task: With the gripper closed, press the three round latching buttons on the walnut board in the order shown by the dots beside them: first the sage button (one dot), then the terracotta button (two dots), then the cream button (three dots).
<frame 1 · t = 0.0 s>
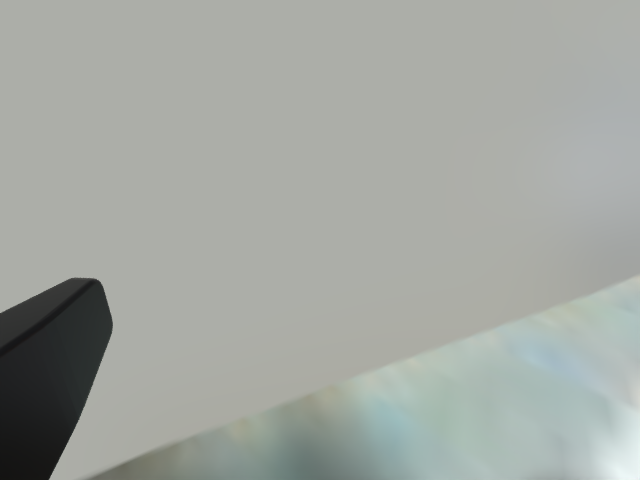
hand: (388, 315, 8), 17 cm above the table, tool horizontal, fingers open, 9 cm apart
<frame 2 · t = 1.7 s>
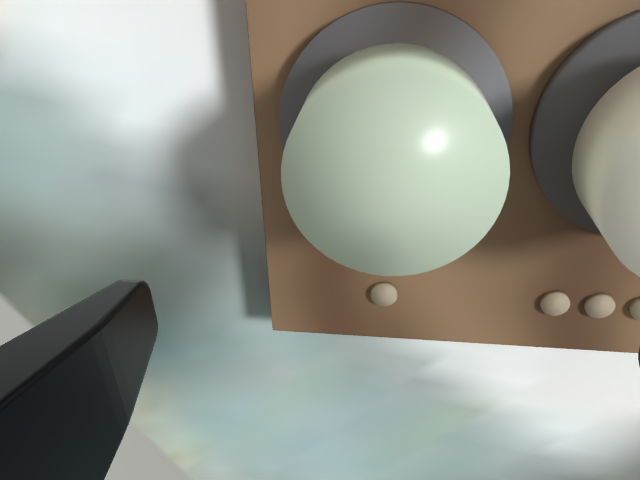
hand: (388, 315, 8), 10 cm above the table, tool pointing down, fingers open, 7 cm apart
sage button: (392, 161, 13), point 4 cm above the table, slide at 0.0 cm
button board: (618, 157, 17), on the table
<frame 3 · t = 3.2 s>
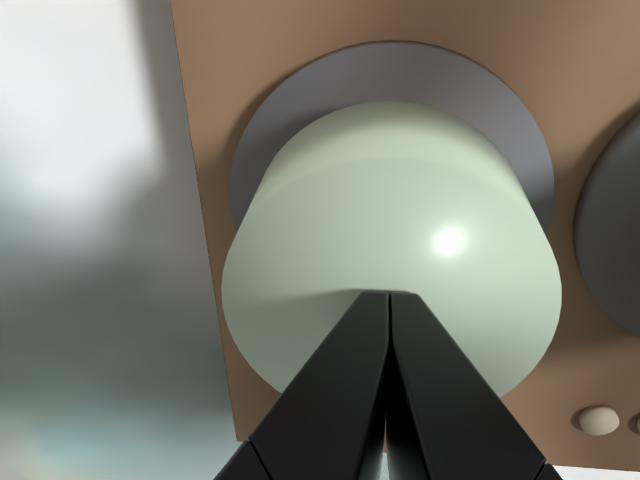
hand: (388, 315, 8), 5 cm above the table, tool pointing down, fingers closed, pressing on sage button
sage button: (385, 268, 9), point 4 cm above the table, slide at 0.4 cm, touching gripper
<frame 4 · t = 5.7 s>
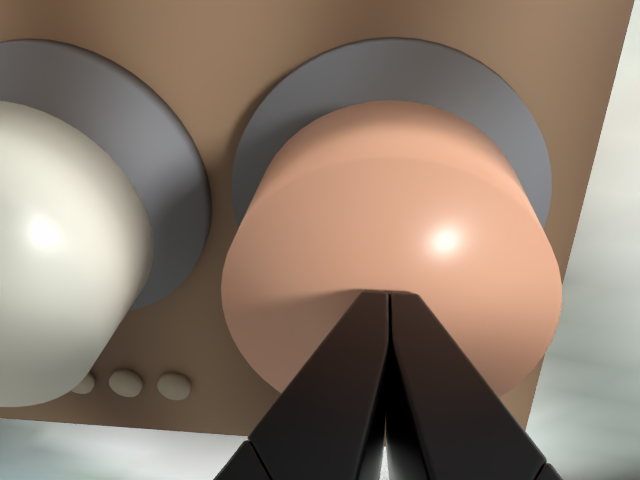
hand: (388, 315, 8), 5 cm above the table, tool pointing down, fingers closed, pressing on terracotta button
terracotta button: (385, 268, 9), point 4 cm above the table, slide at 0.2 cm, touching gripper
button board: (115, 214, 14), on the table
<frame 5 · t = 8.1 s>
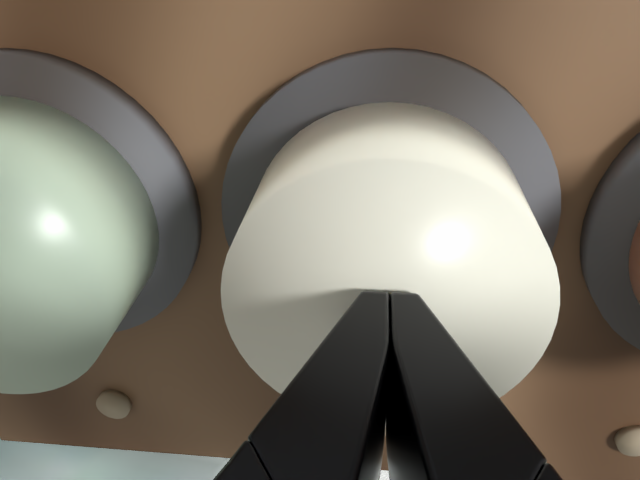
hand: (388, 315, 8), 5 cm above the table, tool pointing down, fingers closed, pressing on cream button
cream button: (384, 269, 9), point 3 cm above the table, slide at 0.9 cm, touching gripper
sage button: (3, 248, 10), point 3 cm above the table, slide at 1.1 cm
button board: (382, 239, 13), on the table
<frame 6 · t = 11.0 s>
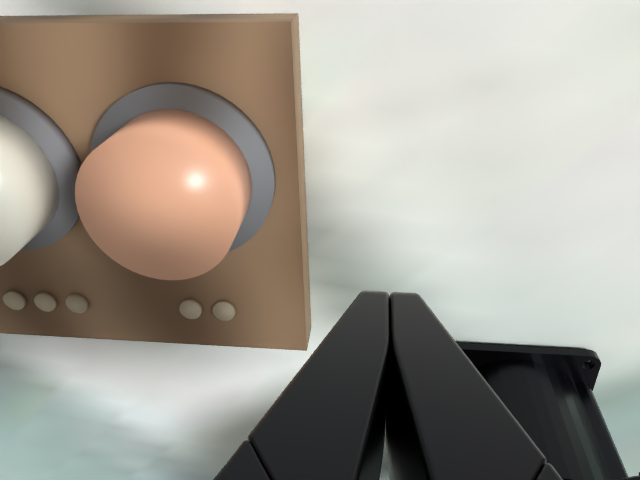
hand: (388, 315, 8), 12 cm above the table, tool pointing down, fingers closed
terracotta button: (168, 195, 18), point 3 cm above the table, slide at 1.1 cm
button board: (35, 188, 22), on the table
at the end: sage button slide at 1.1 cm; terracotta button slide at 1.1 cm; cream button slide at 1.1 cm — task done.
